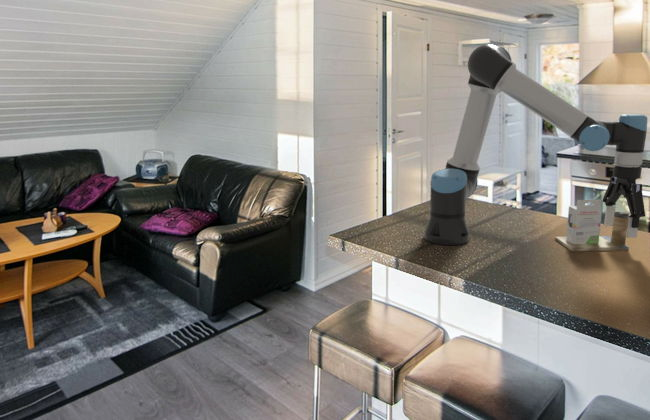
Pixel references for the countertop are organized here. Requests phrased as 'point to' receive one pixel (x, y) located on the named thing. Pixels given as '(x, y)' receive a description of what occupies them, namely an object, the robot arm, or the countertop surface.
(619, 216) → the grey and tan cylinder
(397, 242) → the countertop surface
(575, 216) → the ink box
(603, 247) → the plywood panel
